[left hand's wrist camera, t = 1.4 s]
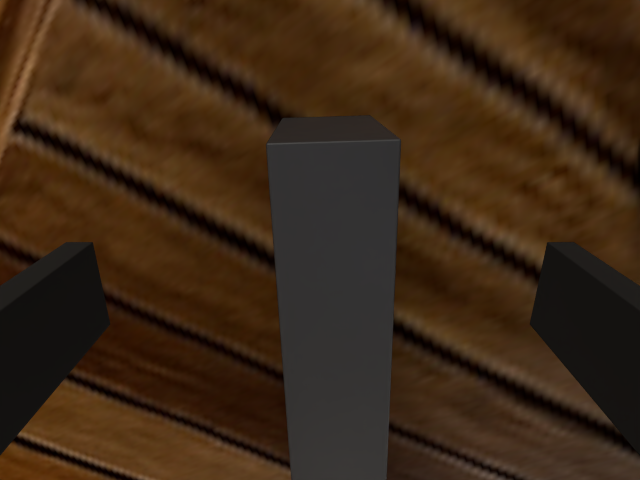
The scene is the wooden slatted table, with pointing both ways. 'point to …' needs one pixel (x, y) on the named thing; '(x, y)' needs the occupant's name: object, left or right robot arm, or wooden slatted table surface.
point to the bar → (335, 289)
